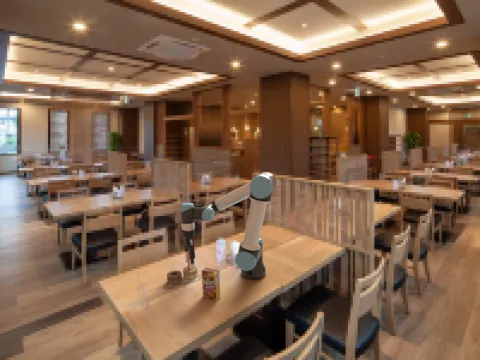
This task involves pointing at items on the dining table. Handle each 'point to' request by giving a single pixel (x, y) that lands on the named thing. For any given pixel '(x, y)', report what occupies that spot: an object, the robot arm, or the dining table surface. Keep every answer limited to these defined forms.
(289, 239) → the dining table surface
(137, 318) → the dining table surface
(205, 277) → the candy box
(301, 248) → the dining table surface
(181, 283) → the felt mat
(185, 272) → the beech bead
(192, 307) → the dining table surface
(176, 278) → the walnut bead
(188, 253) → the needle
